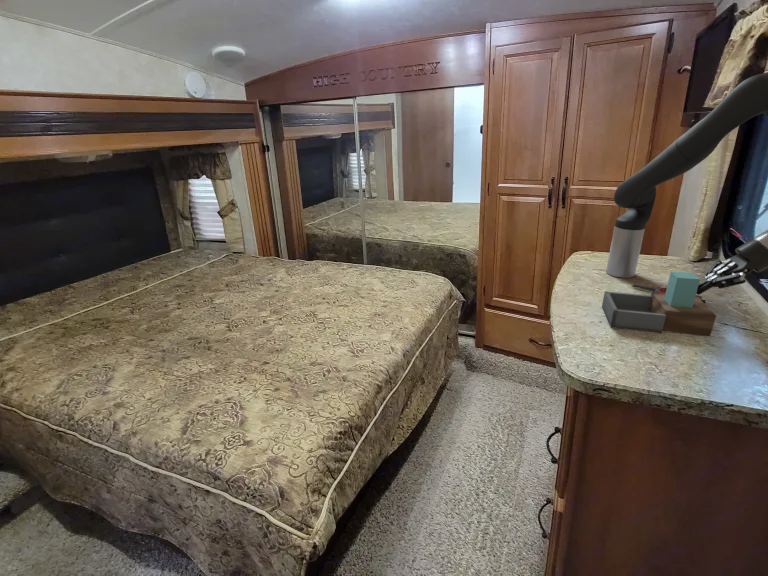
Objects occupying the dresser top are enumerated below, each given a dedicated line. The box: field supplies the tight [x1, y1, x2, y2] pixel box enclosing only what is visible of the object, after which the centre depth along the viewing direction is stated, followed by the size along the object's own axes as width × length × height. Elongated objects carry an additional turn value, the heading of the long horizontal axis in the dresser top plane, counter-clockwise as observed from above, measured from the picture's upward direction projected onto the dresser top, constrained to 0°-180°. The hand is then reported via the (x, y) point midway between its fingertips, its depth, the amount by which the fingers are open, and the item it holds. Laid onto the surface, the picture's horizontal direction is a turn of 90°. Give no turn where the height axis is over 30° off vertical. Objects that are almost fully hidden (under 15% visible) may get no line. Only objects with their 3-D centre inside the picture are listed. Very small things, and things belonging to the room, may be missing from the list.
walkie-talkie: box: [632, 283, 707, 304], centre depth 127 cm, size 9×4×20 cm
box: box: [601, 291, 666, 334], centre depth 114 cm, size 14×12×5 cm
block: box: [664, 271, 701, 308], centre depth 108 cm, size 5×5×8 cm
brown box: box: [649, 293, 717, 337], centre depth 111 cm, size 12×11×6 cm
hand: (694, 291), depth 108 cm, fingers closed
